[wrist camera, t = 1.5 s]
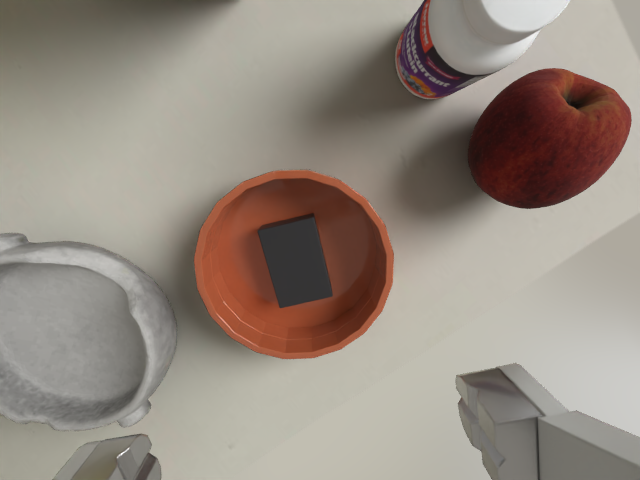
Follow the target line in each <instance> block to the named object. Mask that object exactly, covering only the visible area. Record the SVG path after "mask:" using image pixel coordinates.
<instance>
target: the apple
mask: <svg viewBox="0 0 640 480" xmlns="http://www.w3.org/2000/svg"><path fill="white" fill-rule="evenodd" d="M630 127H631V112H630V109H629V107H628V106H627V105H626V103H625V102H624V101H623V100H622V99H621V97H620V96H619V95H618V93H617V92H616V91H615V90H614V89H612V88H610V87H608V86H606V85H603V84H601V83H599V82H596V81H594V80H592V79H589V78H586V77H583V76H580V75H578V74H575V73H573V72H570V71H568V70H565V69H557V68H552V69H542V70H538V71H535V72H532V73H529V74H527V75H525V76H523V77H521V78H519V79H518V80H516V81H514V82H513V83H512V84H510V85H509V86H508V87H506V88H505V89H504V90H503V91H501V92H500V93H499V94H498V95H497V96H496V97H495V98H494V100H493V101H492V102H491V103H490V104H489V105H488V107H487V108H486V109H485V110H484V112H483V113H482V115H481V116H480V118H479V120H478V122H477V124H476V126H475V128H474V130H473V133H472V136H471V139H470V143H469V149H468V163H469V168H470V171H471V174H472V176H473V179H474V180H475V182H476V183H477V185H478V186H479V187H480V188H481V189H482V190H483V191H484V192H485V193H487V194H488V195H489V196H491V197H492V198H494V199H495V200H497V201H499V202H501V203H504V204H506V205H509V206H513V207H518V208H526V209H531V208H541V207H547V206H551V205H555V204H558V203H561V202H563V201H565V200H568V199H570V198H572V197H574V196H576V195H578V194H579V193H581V192H583V191H584V190H586V189H587V188H588V187H590V186H591V185H592V184H594V183H595V182H596V181H597V180H598V179H599V178H600V177H601V176H602V175H603V174H604V173H605V172H606V171H607V170H608V169H609V168H610V166H611V165H612V164H613V163H614V161H615V160H616V158H617V157H618V155H619V154H620V152H621V150H622V148H623V147H624V144H625V142H626V140H627V137H628V135H629V131H630Z"/></svg>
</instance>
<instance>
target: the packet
mask: <svg viewBox="0 0 640 480" xmlns="http://www.w3.org/2000/svg"><path fill="white" fill-rule="evenodd" d="M257 232H258V235H259V239H260V242H261V246H262V249H263V252H264V256H265V259H266V263H267V266H268V270H269V273H270V277H271V280H272V284H273V287H274V290H275V294H276V297H277V301H278V304H279V308H284V307H289V306H293V305H298V304H302V303H306V302H311V301H315V300H320V299H324V298H329V297H332V296H333V293H332V287H331V282H330V278H329V274H328V270H327V266H326V261H325V257H324V253H323V249H322V245H321V241H320V237H319V232H318V228H317V224H316V220H315V216H314V213H311V214H307V215H303V216H299V217H294V218H290V219H286V220H282V221H277V222H273V223H269V224H265V225H262V226H261V227H260V228H259V229H258V231H257Z"/></svg>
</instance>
